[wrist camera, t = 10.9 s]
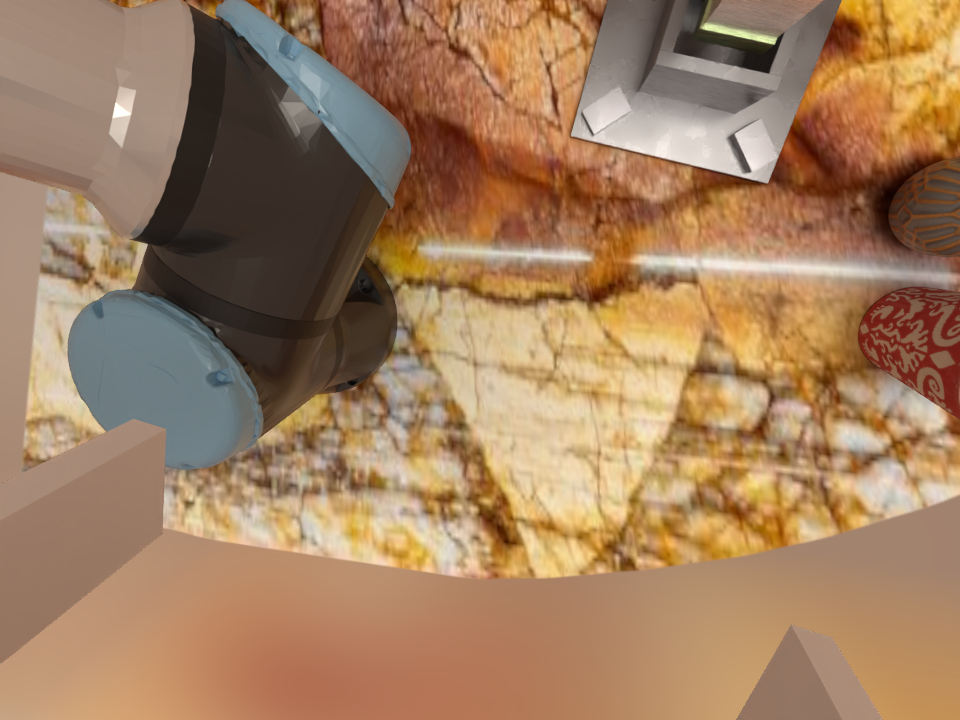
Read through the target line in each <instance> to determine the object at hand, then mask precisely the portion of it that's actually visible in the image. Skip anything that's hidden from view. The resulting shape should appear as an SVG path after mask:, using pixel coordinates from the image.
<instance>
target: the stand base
mask: <svg viewBox="0 0 960 720" xmlns="http://www.w3.org/2000/svg"><path fill="white" fill-rule="evenodd" d="M703 3H704V0H608V2H607V5H606V9H605V13H604V16H603V20H602V24H601V27H600V31H599V34H598V38H597V42H596V45H595V49H594V53H593V56H592V60H591V64H590V67H589V71H588V75H587V78H586V82H585V86H584V89H583V93H582V97H581V100H580V104H579V107H578V111H577V115H576V118H575V122H574V126H573V129H572V133H571V138H575V139H579V140H583V141H588V142H592V143H596V144H600V145H604V146H608V147H612V148H617V149H621V150H625V151H629V152H633V153H637V154H641V155H646V156H650V157H654V158H658V159H662V160H666V161H670V162H675V163H679V164H683V165H687V166H691V167H695V168H699V169H704V170H708V171H712V172H716V173H720V174H724V175H729V176H733V177H737V178H741V179H745V180H749V181H753V182H758V183H762V184H765V183H768V181H769V179H770V176H771V174H772V171H773V169H774V166H775V164H776V161H777V159H778V156H779V154H780V151H781V149H782V146H783V144H784V141H785V139H786V137H787V134H788V132H789V129H790V127H791V124H792V122H793V119H794V117H795V114H796V112H797V109H798V107H799V104H800V102H801V99H802V97H803V94H804V92H805V90H806V87H807V85H808V82H809V80H810V77H811V75H812V72H813V70H814V67H815V65H816V62H817V60H818V57H819V55H820V52H821V50H822V47H823V45H824V43H825V40H826V38H827V35H828V33H829V30H830V28H831V25H832V23H833V20H834V18H835V15H836V13H837V10H838V8H839V5H840V3H841V0H823V1H822V2H821V3H820V4H818V5H817V6H816V7H815V8H813V9H812V10H811V11H810V12H808V13H807V14H806V15H805V16H803V17H802V18H801V19H800V20H799V21H797V22H796V23H795V24H794V25H792V26H791V27H790V28H789V29H787V30H786V31H785V32H784V33H782V34H781V35H780V36H779V37H778V38H777V40H776V42H775V45H773V46H772V47H771V48H770V49H768V50H767V51H766V52H765V53H763V54H762V55H761V54H756V53H751V52H747V51H742V50H738V49H733V48H729V47H724V46H719V45H715V44H710V43H706V42H701V41H697V40H692V37H693V34H694V31H695V28H696V24H697V21H698V18H699V15H700V12H701V9H702V6H703Z"/></svg>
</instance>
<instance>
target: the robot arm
mask: <svg viewBox="0 0 960 720" xmlns="http://www.w3.org/2000/svg"><path fill="white" fill-rule="evenodd" d="M215 13H216V17H217V19H214V18H212V17H210V16H208V15H207V14H205V13H203V12H201V11H200V10H198V9H196V8H194V7H193V6H191V5H189V4H187V3H186V2H185V1H183V0H158V1H154V2H151V3H147V4H143V5H140V6H136V7H133V8H127V7H122V6H119V5H117V4H115V3H113V2H111V1H109V0H0V172H2V173H6V174H10V175H13V176H17V177H20V178H24V179H27V180H31V181H34V182H38V183H41V184H45V185H49V186H52V187H56V188H59V189H63V190H66V191H70V192H73V193H77V194H81V195H82V196H84V197H85V198H87V199H88V200H89V201H91V202H92V203H93V205H94V206H95V207H96V208H97V210H98V211H99V212H100V213H101V215H102V216H103V217H104V218H105V220H106V221H107V222H108V223H109V225H110V226H111V227H112V228H113V230H114V231H115V232H116V233H117V235H119V236H120V237H122V238H126V239H130V240H134V241H138V242H142V243H146V244H148V246H147V249H146V252H145V255H144V258H143V261H142V264H141V267H140V271H139V274H138V277H137V280H136V283H135V285H134V286H133V288H132V289H127V290H115V291H112V292H108V293H107V294H106V295H104V296H103V297H101V298H100V299H99V300H97V301H94V302H92V303H90V304H89V305H87V306H86V307H85V308H84V309H83V310H82V311H81V312H80V313H79V315H78V316H77V317H76V319H75V320H74V322H73V324H72V327H71V330H70V333H69V338H68V361H69V366H70V371H71V374H72V378H73V381H74V383H75V385H76V387H77V390H78V392H79V395H80V397H81V399H82V400H83V401H84V402H85V403H86V405H87V406H88V407H89V409H90V411H91V413H92V415H93V417H94V418H95V419H96V421H97V422H98V423H99V424H100V425H101V426H102V428H103V429H104V430H105V431H106V433H104V434H101V435H99V436H97V437H95V438H93V439H91V440H89V441H87V442H85V443H83V444H81V445H79V446H77V447H75V448H73V449H71V450H69V451H67V452H64V453H62V454H60V455H58V456H56V457H54V458H52V459H50V460H48V461H46V462H44V463H42V464H40V465H38V466H36V467H34V468H32V469H30V470H28V471H25V472H23V473H21V474H19V475H18V476H15V477H13V478H11V479H9V480H7V481H5V482H3V483H1V484H0V664H1V663H3V662H4V661H5V660H6V659H7V658H9V657H10V656H11V655H13V654H14V653H15V652H16V651H18V650H19V649H20V648H21V647H23V646H24V645H25V644H26V643H27V642H29V641H30V640H31V639H32V638H34V637H35V636H36V635H37V634H39V633H40V632H41V631H42V630H44V629H45V628H46V627H47V626H49V625H50V624H51V623H52V622H53V621H55V620H56V619H57V618H58V617H60V616H61V615H62V614H63V613H65V612H66V611H67V610H68V609H70V608H71V607H72V606H73V605H74V604H76V603H77V602H78V601H79V600H81V599H82V598H83V597H85V596H86V595H87V594H88V593H90V592H91V591H92V590H93V589H94V588H96V587H97V586H98V585H99V584H101V583H102V582H103V581H104V580H106V579H107V578H108V577H109V576H111V575H112V574H113V573H114V572H116V571H117V570H118V569H119V568H121V567H122V566H123V565H124V564H125V563H127V562H128V561H129V560H130V559H132V558H133V557H134V556H135V555H136V554H138V553H139V552H140V551H142V550H143V549H144V548H145V547H146V546H148V545H149V544H150V543H151V542H153V541H154V540H155V539H157V538H158V537H159V536H160V535H162V530H163V503H164V475H165V467H169V468H173V469H181V470H192V469H194V468H196V469H199V468H208V467H212V466H215V465H217V464H219V463H222V462H223V461H225V460H227V459H228V458H230V457H232V456H234V455H236V454H238V453H239V452H243V451H244V450H247V449H248V448H250V447H251V446H253V445H254V444H255V442H256V441H257V439H259V438H260V437H261V436H263V435H264V434H265V433H267V432H268V431H269V430H270V429H272V428H273V427H274V426H276V425H277V424H278V423H280V422H281V421H282V420H284V419H285V418H286V417H287V416H289V415H290V414H291V413H293V412H294V411H295V410H297V409H298V408H299V407H301V406H302V405H303V404H305V403H306V402H307V401H308V400H310V399H311V398H312V397H314V396H315V395H317V394H327V393H336V392H341V391H345V390H348V389H350V388H353V387H355V386H357V385H359V384H360V383H362V382H364V381H365V380H366V379H368V378H369V377H370V376H371V375H372V374H374V373H375V372H376V371H377V370H378V369H379V368H380V367H381V366H382V365H383V363H384V362H385V361H386V359H387V357H388V356H389V354H390V352H391V350H392V347H393V345H394V341H395V337H396V331H397V312H396V306H395V301H394V298H393V295H392V292H391V290H390V288H389V285H388V283H387V282H386V280H385V278H384V277H383V275H382V274H381V272H380V271H379V269H378V268H377V267H376V266H375V265H374V264H373V263H372V262H371V261H370V260H369V259H368V258H367V257H366V254H367V252H368V250H369V248H370V246H371V244H372V242H373V239H374V237H375V235H376V233H377V231H378V229H379V227H380V225H381V223H382V221H383V218H384V216H385V214H386V212H387V210H388V208H389V209H392V208H393V206H394V204H395V199H394V196H395V193H396V191H397V189H398V186H399V184H400V181H401V179H402V177H403V174H404V172H405V170H406V167H407V165H408V162H409V160H410V155H411V143H410V139H409V135H408V133H407V131H406V129H405V128H404V126H403V125H402V124H401V123H400V121H399V120H398V119H397V118H395V117H394V116H393V115H392V114H391V113H390V112H389V111H388V110H387V109H386V108H384V107H383V106H382V105H381V104H380V103H379V102H377V101H376V100H375V99H374V98H373V97H371V96H370V95H369V94H368V93H367V92H365V91H364V90H363V89H362V88H360V87H359V86H358V85H357V84H356V83H354V82H353V81H352V80H351V79H349V78H348V77H347V76H345V75H344V74H343V73H342V72H340V71H339V70H338V69H337V68H335V67H334V66H333V65H331V64H330V63H329V62H328V61H326V60H325V59H324V58H322V57H321V56H320V55H318V54H317V53H316V52H314V51H313V50H312V49H310V48H309V47H307V46H305V45H303V44H302V43H301V42H300V41H299V40H298V39H297V38H295V37H294V36H293V35H291V34H290V33H288V32H287V31H286V30H284V29H283V28H282V27H281V26H280V25H279V24H278V23H276V22H275V21H273V20H272V19H271V18H269V17H268V16H267V15H265V14H264V13H263V12H261V11H260V10H258V9H257V8H255V7H254V6H253V5H251V4H250V3H248V2H246V1H245V0H224V2H223V4H219V5H218V6H217V8H216V12H215ZM737 720H883V719H882V717H881V716H880V714H879V713H878V711H877V709H876V708H875V706H874V705H873V703H872V701H871V700H870V698H869V696H868V695H867V693H866V692H865V690H864V688H863V687H862V685H861V684H860V682H859V680H858V679H857V677H856V675H855V674H854V672H853V670H852V669H851V667H850V666H849V664H848V662H847V661H846V659H845V657H844V656H843V654H842V653H841V651H840V650H839V648H838V647H837V645H836V643H835V641H834V640H833V638H832V637H829V636H826V635H822V634H819V633H816V632H813V631H810V630H807V629H803V628H800V627H797V626H794V625H791V626H790V628H789V629H788V631H787V633H786V635H785V636H784V638H783V640H782V642H781V643H780V645H779V647H778V649H777V650H776V652H775V654H774V655H773V657H772V659H771V661H770V662H769V664H768V666H767V668H766V669H765V671H764V673H763V674H762V676H761V678H760V680H759V681H758V683H757V685H756V687H755V688H754V690H753V692H752V693H751V695H750V697H749V699H748V700H747V702H746V704H745V706H744V707H743V709H742V711H741V713H740V714H739V716H738V718H737Z"/></svg>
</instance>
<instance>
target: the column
mask: <svg viewBox="0 0 960 720" xmlns="http://www.w3.org/2000/svg"><path fill="white" fill-rule="evenodd" d="M822 1H823V0H704V3H703V6H702V9H701V12H700V15H699V18H698V21H697V24H696V28H695V31H694V34H693V37H692V40H697V41H701V42H706V43H710V44H715V45H719V46H724V47H729V48H733V49H738V50H742V51H747V52H751V53H756V54H761V55H762V54H763V53H765V52H766V51H767V50H768V49H770V48H771V47H772V46H773V45H775V42H776V40H777V38H778V37H779V36H780V35H781V34H782V33H784V32H785V31H786V30H787V29H789V28H790V27H791V26H792V25H794V24H795V23H796V22H797V21H799V20H800V19H801V18H802V17H803V16H805V15H806V14H807V13H808V12H810V11H811V10H812V9H813V8H815V7H816V6H817V5H818V4H820V3H821V2H822Z"/></svg>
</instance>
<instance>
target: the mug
mask: <svg viewBox="0 0 960 720" xmlns="http://www.w3.org/2000/svg"><path fill="white" fill-rule="evenodd" d="M859 344H860V347H861V350H862V352H863V353H864V355H865V356H866V357H867V359H868V360H870V361H871V362H872V363H873V364H874V365H876V366H877V367H878V368H880V369H882V370H884V371H885V372H887V373H889V374H890V375H892V376H894V377H895V378H897V379H898V380H900V381H901V382H903V383H904V384H906V385H907V386H909V387H910V388H912V389H914V390H915V391H917V392H918V393H920V394H921V395H923V396H924V397H926V398H927V399H929V400H930V401H932V402H933V403H935V404H936V405H938V406H940V407H941V408H943V409H944V410H946V411H947V412H949V413H950V414H952V415H953V416H955V417H957V418H958V419H960V292H954V291H947V290H942V289H934V288H927V287H910V288H905V289H900V290H897V291H895V292H892V293H890V294H888V295H886V296H884V297H883V298H881V299H880V300H879V301H878V302H876V303H875V304H874V305H873V306H872V307H871V308H870V309H869V311H868V312H867V313H866V315H865V317H864V318H863V320H862V323H861V325H860V329H859Z"/></svg>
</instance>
